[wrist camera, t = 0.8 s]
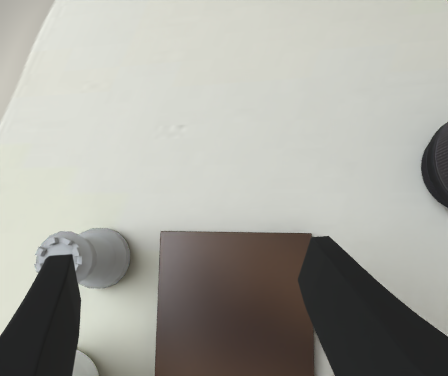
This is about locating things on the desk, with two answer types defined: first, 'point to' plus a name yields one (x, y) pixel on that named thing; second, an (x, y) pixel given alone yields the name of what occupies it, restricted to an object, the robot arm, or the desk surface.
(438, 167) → the camera lens
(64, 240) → the rook chess piece
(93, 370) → the drinking glass
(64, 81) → the desk surface
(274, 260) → the walnut board
